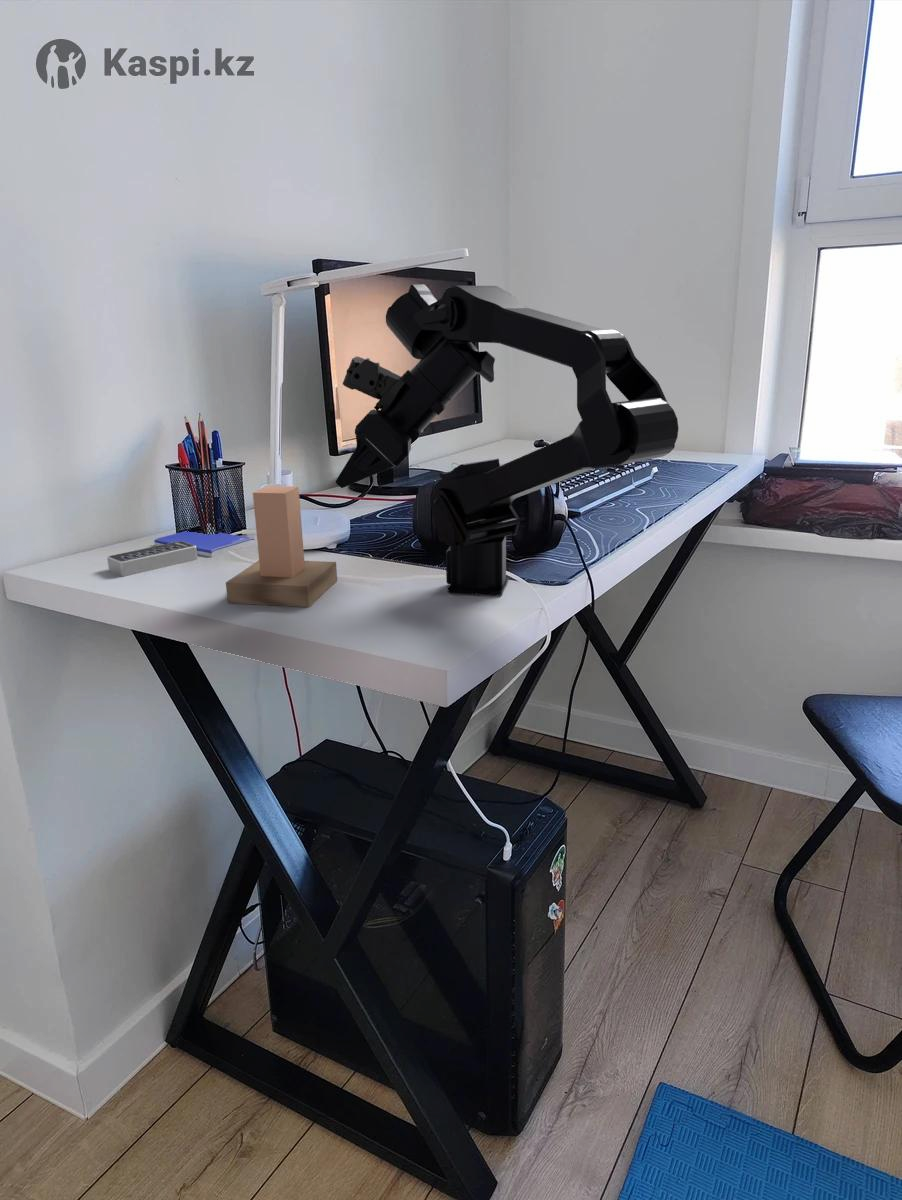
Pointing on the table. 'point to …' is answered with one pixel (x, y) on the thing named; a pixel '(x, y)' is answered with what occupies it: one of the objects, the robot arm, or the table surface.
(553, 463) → the robot arm
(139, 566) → the multiport hub
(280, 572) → the block
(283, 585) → the plinth
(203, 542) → the hard drive
